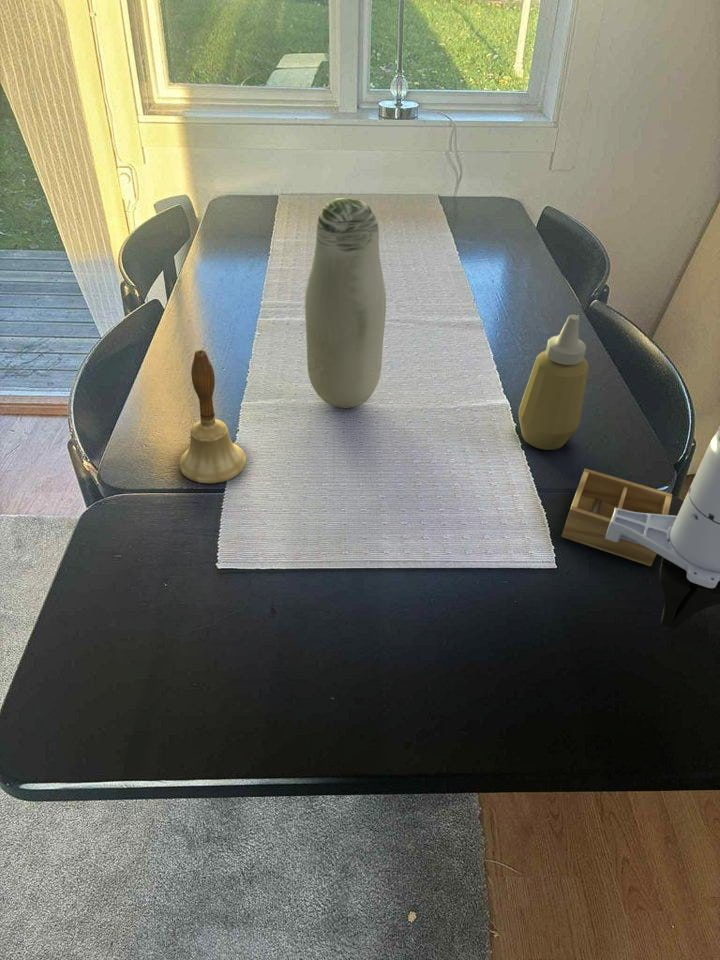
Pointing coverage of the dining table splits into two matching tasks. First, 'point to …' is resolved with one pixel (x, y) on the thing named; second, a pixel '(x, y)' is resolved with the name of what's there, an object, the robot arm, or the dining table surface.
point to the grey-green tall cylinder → (345, 304)
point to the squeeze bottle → (555, 390)
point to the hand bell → (209, 434)
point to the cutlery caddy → (611, 513)
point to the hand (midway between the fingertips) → (670, 618)
